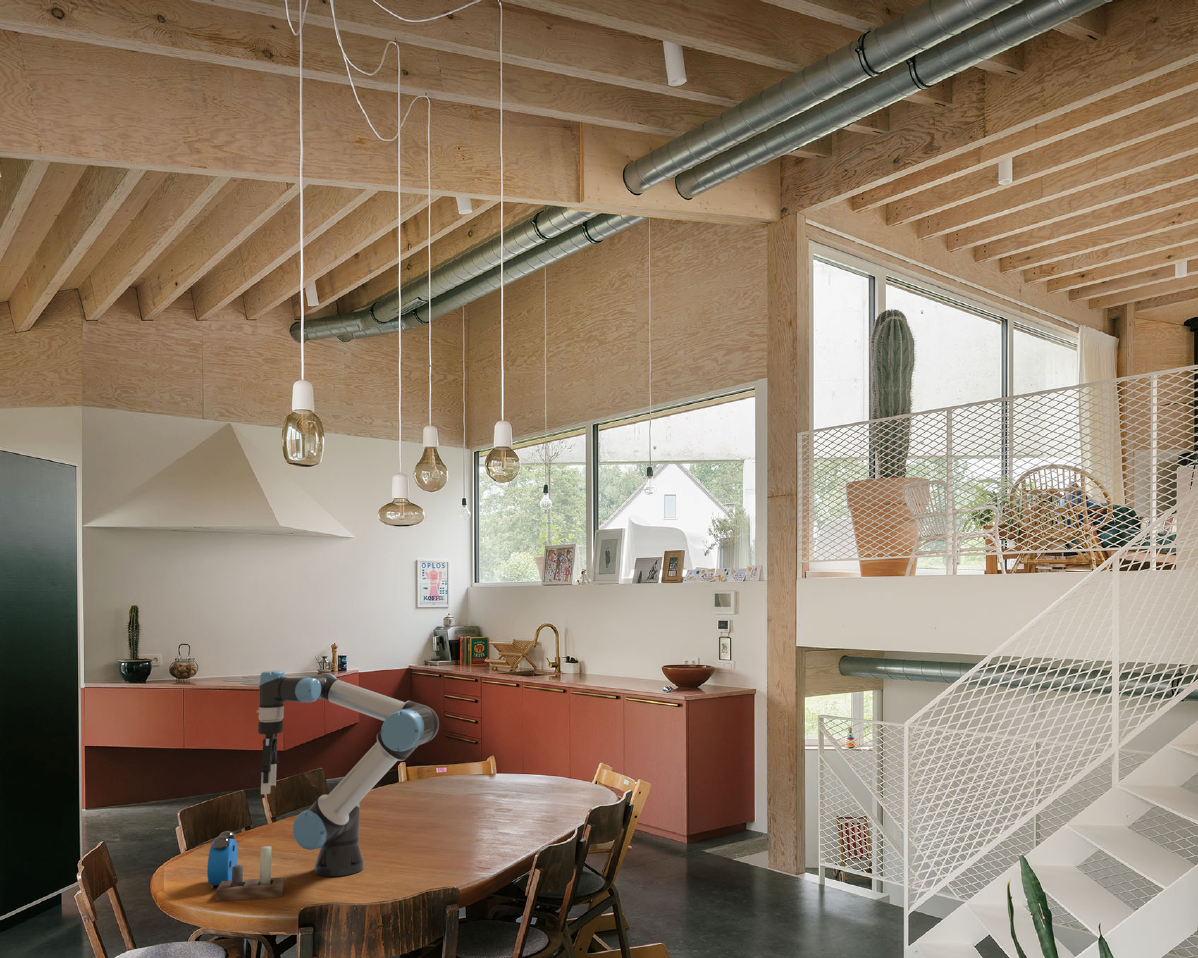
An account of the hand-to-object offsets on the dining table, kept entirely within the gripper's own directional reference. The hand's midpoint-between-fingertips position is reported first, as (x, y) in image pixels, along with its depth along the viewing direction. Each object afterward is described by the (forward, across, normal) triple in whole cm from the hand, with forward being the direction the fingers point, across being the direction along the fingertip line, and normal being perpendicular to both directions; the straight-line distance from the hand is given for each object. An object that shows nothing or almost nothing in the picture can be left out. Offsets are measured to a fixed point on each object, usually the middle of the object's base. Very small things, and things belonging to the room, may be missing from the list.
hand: (268, 789), depth 300 cm
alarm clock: (+27, +4, -12) cm, 30 cm away
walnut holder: (+27, +16, -2) cm, 31 cm away
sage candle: (+27, +16, +2) cm, 31 cm away
